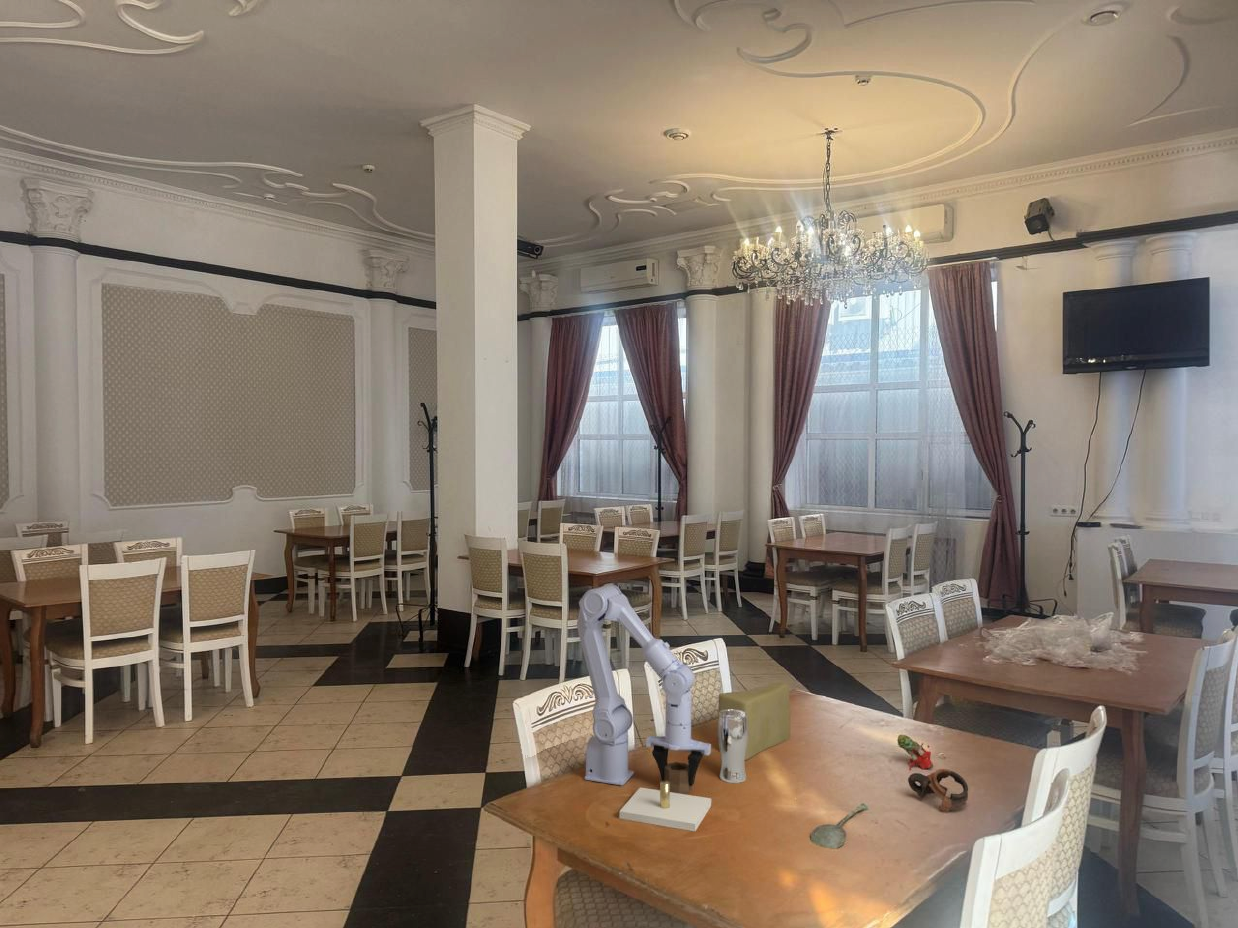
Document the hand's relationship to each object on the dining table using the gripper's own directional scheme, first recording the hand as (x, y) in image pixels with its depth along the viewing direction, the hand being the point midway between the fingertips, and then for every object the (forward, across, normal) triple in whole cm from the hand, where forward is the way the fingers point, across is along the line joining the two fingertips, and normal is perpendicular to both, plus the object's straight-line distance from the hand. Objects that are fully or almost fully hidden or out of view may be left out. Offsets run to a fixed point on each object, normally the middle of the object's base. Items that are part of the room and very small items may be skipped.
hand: (677, 782), depth 180 cm
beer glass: (+2, +10, +11) cm, 15 cm away
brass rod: (+2, +1, -13) cm, 13 cm away
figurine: (+2, +50, +34) cm, 60 cm away
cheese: (+2, +12, +34) cm, 36 cm away
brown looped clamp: (+2, +54, +14) cm, 56 cm away
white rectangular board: (+2, +1, -12) cm, 12 cm away
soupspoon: (+2, +36, -6) cm, 37 cm away
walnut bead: (+2, 0, 0) cm, 2 cm away
